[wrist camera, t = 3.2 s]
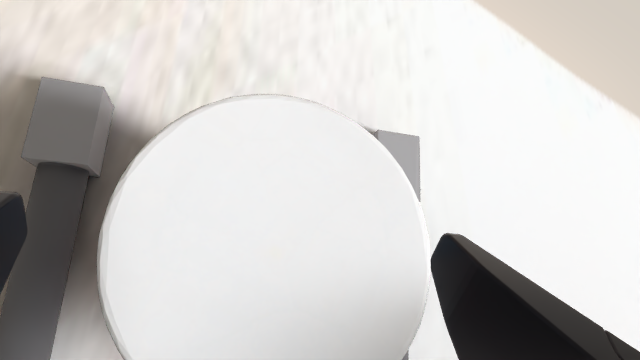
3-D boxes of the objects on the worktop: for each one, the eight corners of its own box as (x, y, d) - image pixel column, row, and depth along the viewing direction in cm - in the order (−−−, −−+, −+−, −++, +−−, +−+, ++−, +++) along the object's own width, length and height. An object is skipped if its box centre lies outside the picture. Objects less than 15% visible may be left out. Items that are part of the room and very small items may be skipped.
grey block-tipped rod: (401, 474, 16) (424, 498, 14) (355, 478, 15) (373, 503, 13) (400, 148, 19) (419, 136, 18) (362, 143, 19) (378, 129, 17)
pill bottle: (133, 218, 15) (-36, 86, 5) (280, 176, 17) (392, 18, 7) (176, 374, 14) (88, 640, 4) (325, 311, 16) (535, 372, 6)
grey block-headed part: (33, 504, 12) (7, 539, 11) (-42, 511, 12) (-82, 549, 10) (114, 106, 16) (103, 87, 14) (59, 98, 15) (41, 76, 14)
